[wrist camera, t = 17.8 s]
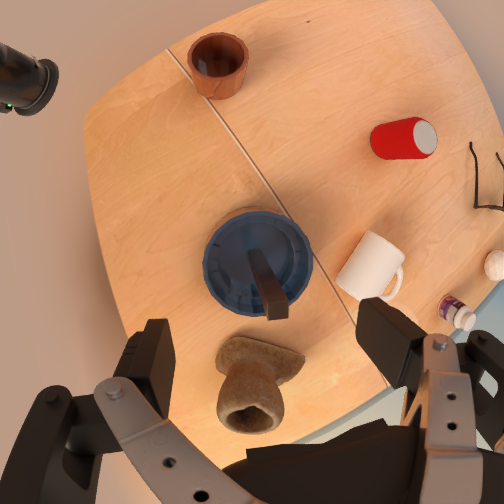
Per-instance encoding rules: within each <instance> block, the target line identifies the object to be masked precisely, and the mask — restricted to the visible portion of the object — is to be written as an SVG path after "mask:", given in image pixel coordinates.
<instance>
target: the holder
mask: <svg viewBox="0 0 504 504" xmlns="http://www.w3.org/2000/svg"><path fill="white" fill-rule="evenodd" d="M248 59H249V57H248V49H247V47H246V46H245V44H244V42H243V41H242V40H240V39H239V38H237V37H236V36H235V35H231V34H228V33H224V32H220V33H210V34H207V35H205V36H202V37H200V38H199V39H198V40H197V41H195V42H194V43H193V44H192V46H191V48H190V50H189V52H188V66H189V69H190V73H191V76H192V80H193V83H194V85H195V88H196V90H197V91H198V92H199V93H200V94H201V95H202V96H204V97H206V98H208V99H212V100H222V99H226V98H229V97H231V96H232V95H234V94H235V93H236V92H237V91H238V90H239V89H240V87H241V85H242V82H243V79H244V75H245V71H246V67H247V63H248Z"/></svg>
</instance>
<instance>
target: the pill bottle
mask: <svg viewBox="0 0 504 504" xmlns="http://www.w3.org/2000/svg"><path fill="white" fill-rule="evenodd" d="M437 312H438V314H439V315H440V316H441V317H442V318H444V319H445V320H446V321H448V322H449V323H450V324H452V325H453V326H454V327H456V328H462V329H464V330H465V331H469V330H470V329H471V328H472V327H473V325H474V323H475V320H476V315H475V314H473V313H472V312H471V311H470V308H469V307H468V306H467V305H465V304H464V303H462V302H461V301H459V300H457V299H456V298H454V297H453V296H451V295H446V296H444V297H443V298H442V299H441V301H440V302H439V305H438V309H437Z"/></svg>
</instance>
